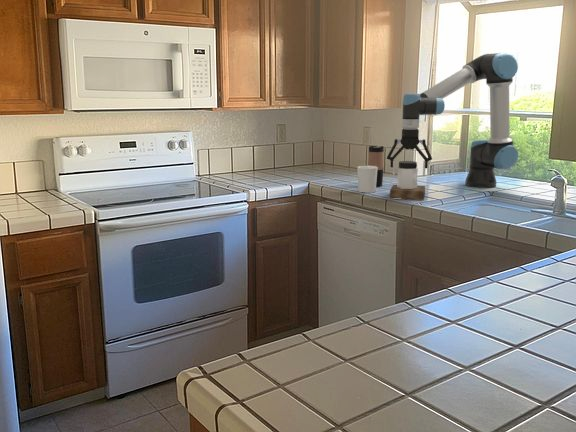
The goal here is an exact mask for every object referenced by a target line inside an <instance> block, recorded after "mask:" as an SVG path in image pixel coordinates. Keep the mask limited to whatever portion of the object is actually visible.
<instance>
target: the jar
mask: <svg viewBox="0 0 576 432" xmlns="http://www.w3.org/2000/svg"><path fill="white" fill-rule="evenodd" d="M396 177H397V183H396V185H397V187H398V188H400V189H415V188H417V185H418V162H417V161H414V160H402V161H401V160H400V161H399V162H398V167H397V176H396Z"/></svg>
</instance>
